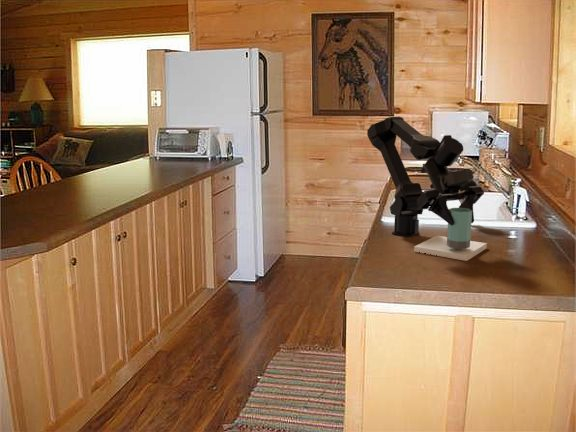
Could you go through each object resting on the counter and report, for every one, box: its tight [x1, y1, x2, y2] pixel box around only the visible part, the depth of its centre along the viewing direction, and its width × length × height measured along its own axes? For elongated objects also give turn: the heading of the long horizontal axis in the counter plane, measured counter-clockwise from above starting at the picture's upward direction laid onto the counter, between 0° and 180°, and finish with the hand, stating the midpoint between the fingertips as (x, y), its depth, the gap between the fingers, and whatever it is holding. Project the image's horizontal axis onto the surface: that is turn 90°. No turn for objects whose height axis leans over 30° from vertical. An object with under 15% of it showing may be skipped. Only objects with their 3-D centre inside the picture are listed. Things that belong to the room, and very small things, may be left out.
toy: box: [459, 179, 478, 192], centre depth 202 cm, size 9×7×15 cm
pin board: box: [413, 235, 488, 262], centre depth 172 cm, size 15×15×5 cm
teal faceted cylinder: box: [446, 207, 472, 249], centre depth 166 cm, size 6×6×10 cm
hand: (462, 223), depth 165 cm, fingers closed on teal faceted cylinder, 6 cm apart
